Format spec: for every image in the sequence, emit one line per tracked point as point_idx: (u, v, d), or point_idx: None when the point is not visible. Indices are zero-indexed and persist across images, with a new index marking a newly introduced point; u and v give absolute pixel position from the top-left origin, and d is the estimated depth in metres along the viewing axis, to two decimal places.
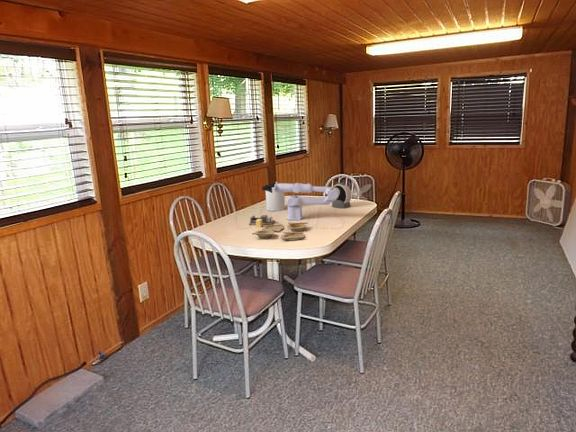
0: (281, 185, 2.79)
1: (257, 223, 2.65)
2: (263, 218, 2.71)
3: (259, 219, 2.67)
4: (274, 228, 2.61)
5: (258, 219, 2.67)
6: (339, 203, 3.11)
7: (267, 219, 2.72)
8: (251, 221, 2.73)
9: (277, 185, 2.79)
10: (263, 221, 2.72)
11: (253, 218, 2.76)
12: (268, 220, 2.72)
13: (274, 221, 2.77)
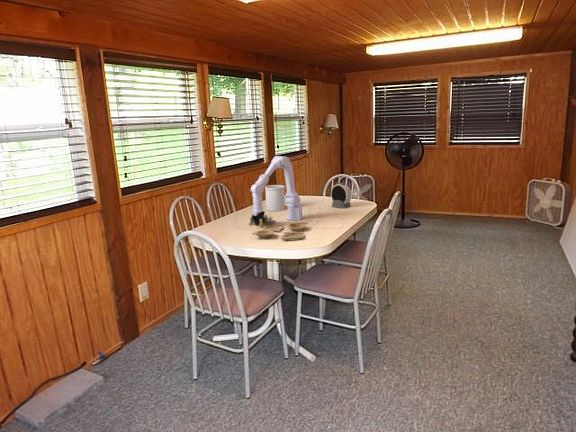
0: (254, 205, 2.63)
1: None
2: (263, 218, 2.71)
3: None
4: (274, 228, 2.61)
5: None
6: (339, 203, 3.11)
7: (267, 219, 2.72)
8: (251, 221, 2.73)
9: (254, 209, 2.63)
10: (263, 221, 2.72)
11: None
12: (268, 220, 2.72)
13: (274, 221, 2.77)
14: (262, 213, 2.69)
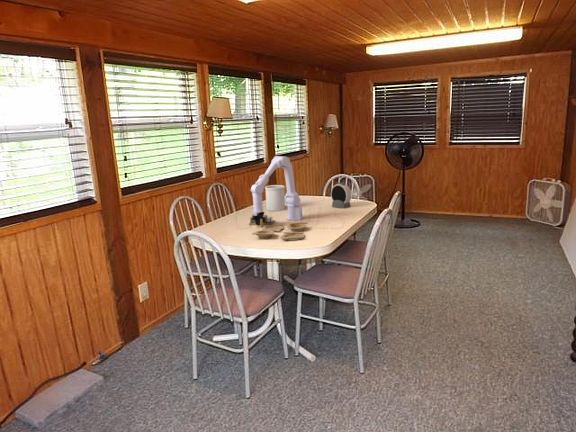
0: (254, 205, 2.63)
1: None
2: (263, 218, 2.71)
3: None
4: (274, 228, 2.61)
5: None
6: (339, 203, 3.11)
7: (267, 219, 2.72)
8: (251, 221, 2.73)
9: (254, 209, 2.63)
10: (263, 221, 2.72)
11: (253, 218, 2.76)
12: (268, 220, 2.72)
13: (274, 221, 2.77)
14: (261, 213, 2.68)
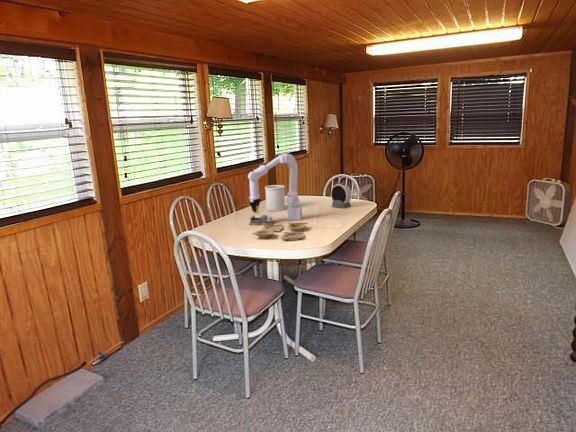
0: (250, 192, 2.70)
1: None
2: (263, 218, 2.71)
3: None
4: (274, 228, 2.61)
5: None
6: (339, 203, 3.11)
7: (267, 219, 2.72)
8: (251, 221, 2.73)
9: (251, 196, 2.70)
10: (263, 221, 2.72)
11: (253, 218, 2.76)
12: (268, 220, 2.72)
13: (274, 221, 2.77)
14: (258, 200, 2.74)
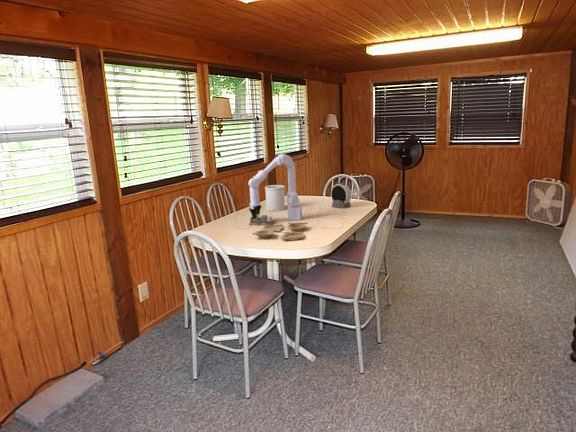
0: (251, 199, 2.71)
1: None
2: (263, 218, 2.71)
3: None
4: (274, 228, 2.61)
5: None
6: (339, 203, 3.11)
7: (267, 219, 2.72)
8: (251, 221, 2.73)
9: (251, 203, 2.71)
10: (263, 221, 2.72)
11: None
12: (268, 220, 2.72)
13: (274, 221, 2.77)
14: (259, 207, 2.76)
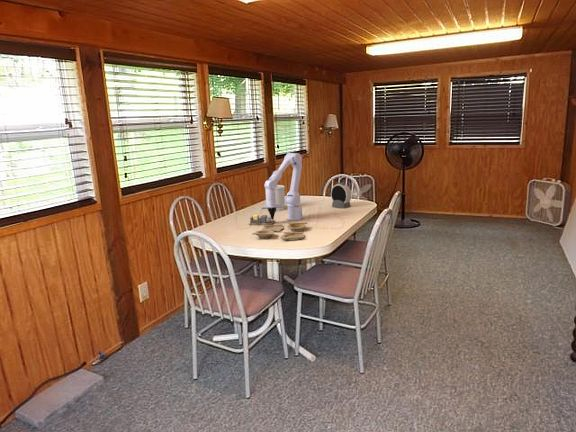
0: None
1: (254, 218, 2.73)
2: (263, 218, 2.71)
3: None
4: (274, 228, 2.61)
5: None
6: (339, 203, 3.11)
7: (265, 219, 2.73)
8: (251, 221, 2.73)
9: None
10: (263, 221, 2.72)
11: None
12: (266, 220, 2.73)
13: (274, 221, 2.77)
14: (272, 210, 2.70)
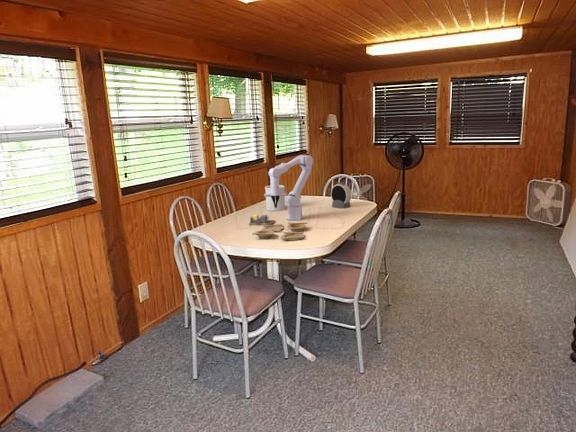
0: None
1: (254, 218, 2.74)
2: (263, 218, 2.71)
3: None
4: (274, 228, 2.61)
5: None
6: (339, 203, 3.11)
7: None
8: (251, 221, 2.73)
9: None
10: (263, 221, 2.72)
11: None
12: None
13: (274, 221, 2.77)
14: None
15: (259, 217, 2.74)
